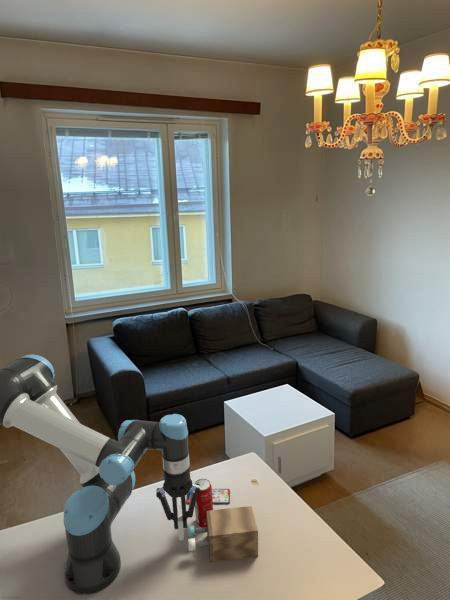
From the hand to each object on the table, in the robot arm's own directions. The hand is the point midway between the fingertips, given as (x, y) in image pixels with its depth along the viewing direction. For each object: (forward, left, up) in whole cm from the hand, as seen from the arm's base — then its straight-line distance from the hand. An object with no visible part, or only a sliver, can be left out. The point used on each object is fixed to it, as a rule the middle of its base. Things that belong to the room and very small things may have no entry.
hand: (181, 536), depth 127 cm
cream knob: (+6, -5, 0) cm, 8 cm away
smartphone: (+10, +20, -4) cm, 22 cm away
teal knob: (+6, 0, 0) cm, 6 cm away
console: (+15, -2, -3) cm, 15 cm away
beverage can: (+7, +8, -3) cm, 11 cm away
